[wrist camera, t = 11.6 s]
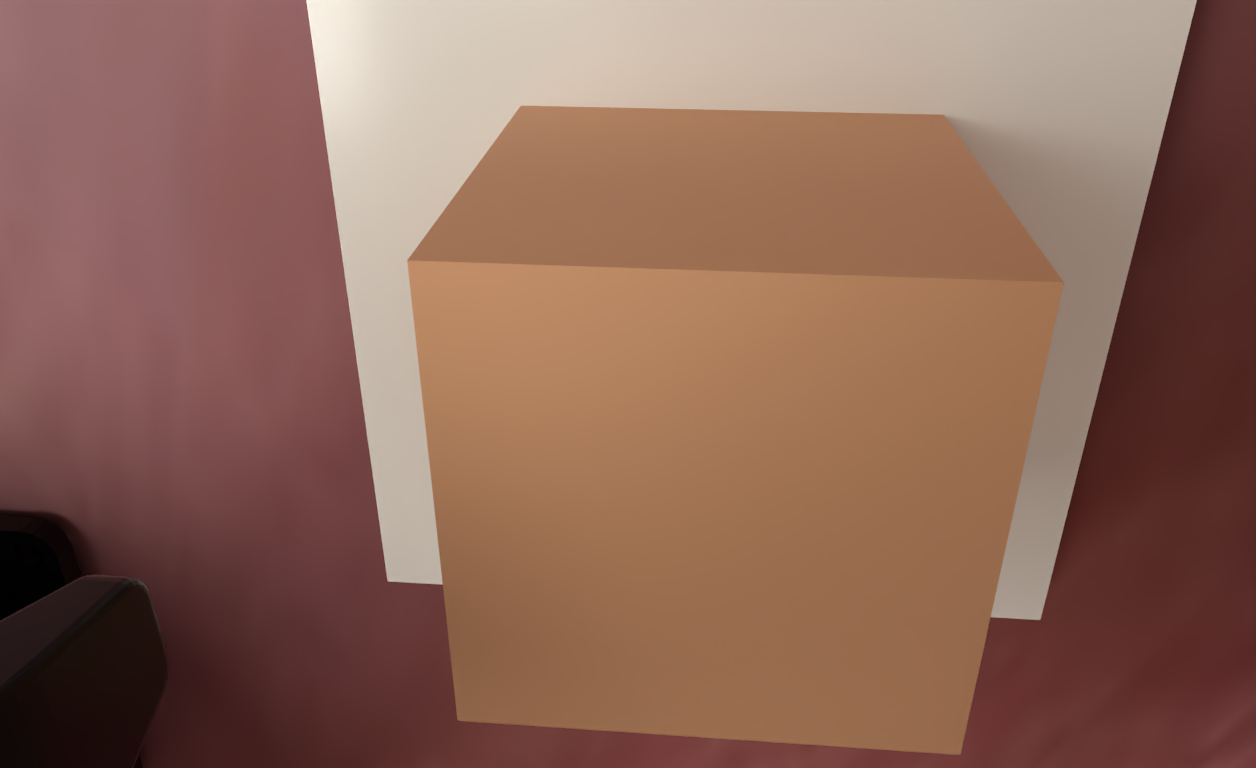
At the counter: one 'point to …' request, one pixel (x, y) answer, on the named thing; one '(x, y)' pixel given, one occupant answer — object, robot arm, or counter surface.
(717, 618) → the terracotta block
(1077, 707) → the counter surface
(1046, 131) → the ceramic coaster
